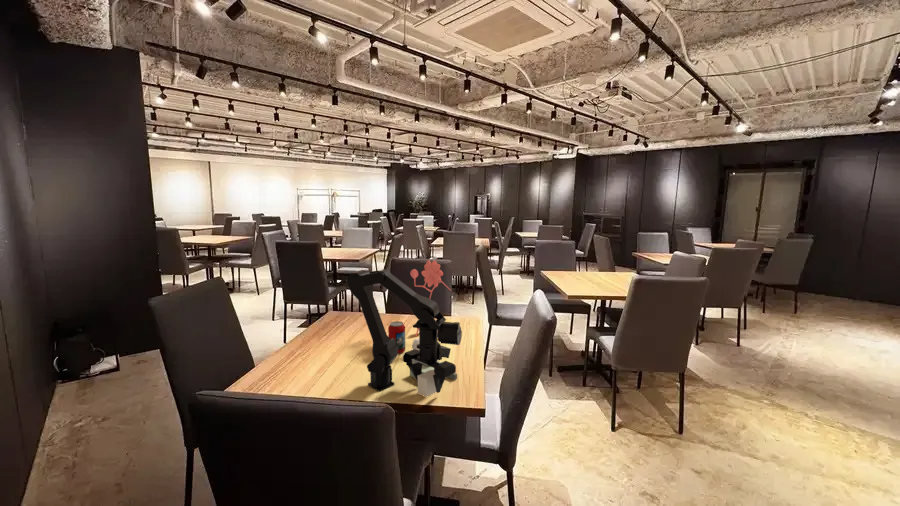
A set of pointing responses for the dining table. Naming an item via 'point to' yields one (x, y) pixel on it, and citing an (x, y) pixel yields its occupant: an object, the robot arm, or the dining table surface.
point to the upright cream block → (426, 383)
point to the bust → (415, 344)
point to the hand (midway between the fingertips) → (428, 387)
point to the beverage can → (397, 334)
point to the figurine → (429, 277)
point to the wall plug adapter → (427, 368)
